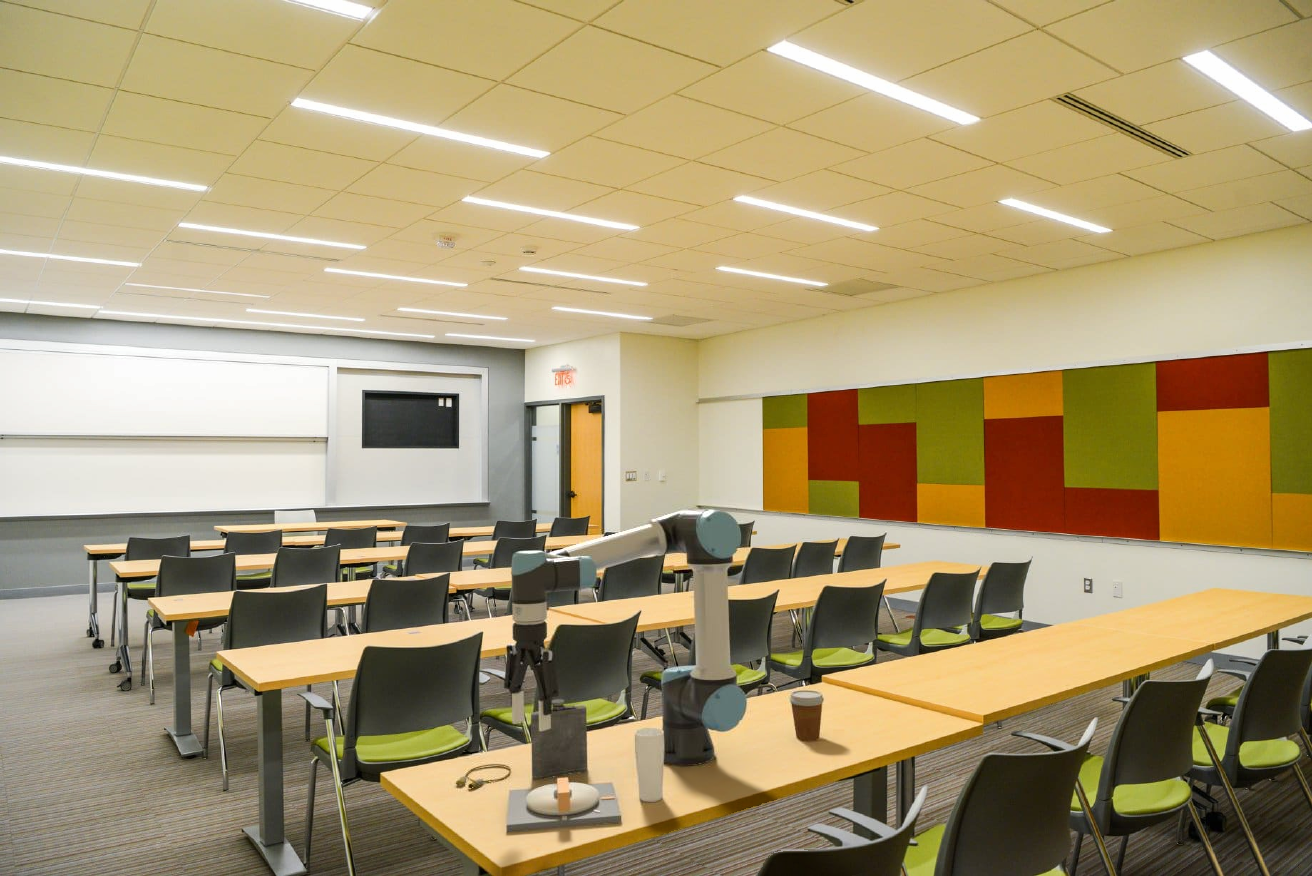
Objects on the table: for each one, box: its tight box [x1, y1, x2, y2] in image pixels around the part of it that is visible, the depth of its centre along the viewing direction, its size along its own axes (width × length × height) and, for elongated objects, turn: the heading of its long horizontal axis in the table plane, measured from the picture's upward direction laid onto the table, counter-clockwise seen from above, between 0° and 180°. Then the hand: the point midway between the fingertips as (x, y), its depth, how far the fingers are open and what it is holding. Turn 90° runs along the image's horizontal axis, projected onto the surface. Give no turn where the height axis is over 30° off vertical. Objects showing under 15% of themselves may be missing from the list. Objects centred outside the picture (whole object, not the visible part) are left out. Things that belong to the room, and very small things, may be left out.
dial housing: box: [506, 781, 622, 833], centre depth 187 cm, size 24×20×2 cm
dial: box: [526, 777, 599, 815], centre depth 186 cm, size 18×16×5 cm
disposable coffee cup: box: [788, 689, 825, 742], centre depth 233 cm, size 10×10×12 cm
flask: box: [530, 698, 589, 781], centre depth 210 cm, size 4×14×18 cm, turn 116°
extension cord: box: [455, 763, 512, 791], centre depth 208 cm, size 12×16×2 cm
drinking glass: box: [634, 727, 665, 803], centre depth 192 cm, size 7×7×15 cm
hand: (531, 725), depth 184 cm, fingers open, 8 cm apart
